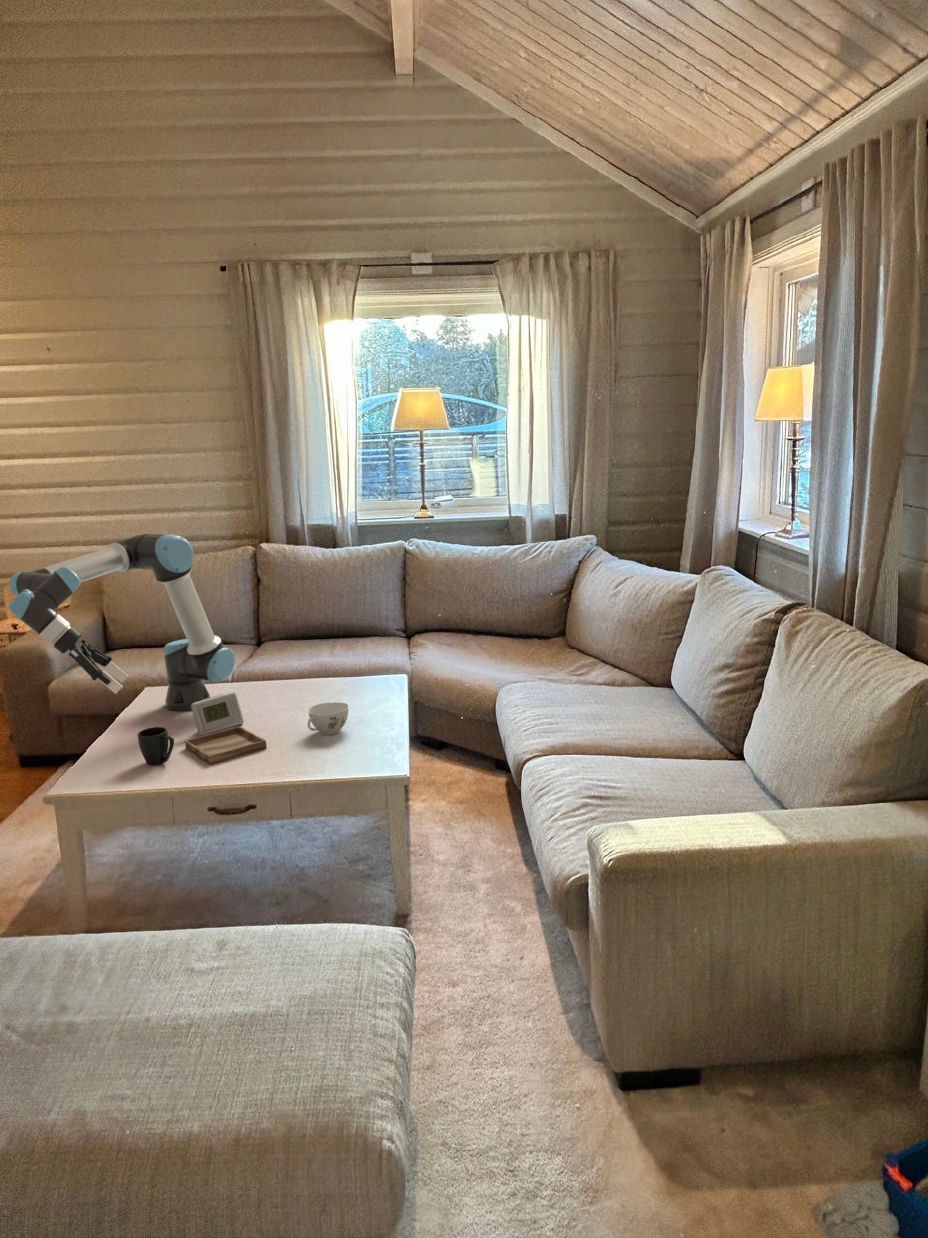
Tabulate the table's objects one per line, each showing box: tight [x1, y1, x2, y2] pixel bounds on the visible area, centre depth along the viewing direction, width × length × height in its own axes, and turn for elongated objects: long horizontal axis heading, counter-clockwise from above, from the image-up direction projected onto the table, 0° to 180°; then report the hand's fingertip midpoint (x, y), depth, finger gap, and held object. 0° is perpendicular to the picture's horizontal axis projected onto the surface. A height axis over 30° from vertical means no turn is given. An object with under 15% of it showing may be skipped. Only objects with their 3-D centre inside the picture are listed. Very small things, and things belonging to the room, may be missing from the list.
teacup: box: [307, 701, 349, 736], centre depth 278 cm, size 15×12×8 cm
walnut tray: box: [184, 725, 267, 766], centre depth 269 cm, size 18×18×2 cm
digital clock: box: [191, 691, 245, 737], centre depth 286 cm, size 16×9×11 cm, turn 123°
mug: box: [137, 726, 175, 767], centre depth 259 cm, size 8×12×10 cm
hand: (122, 684), depth 254 cm, fingers open, 13 cm apart
